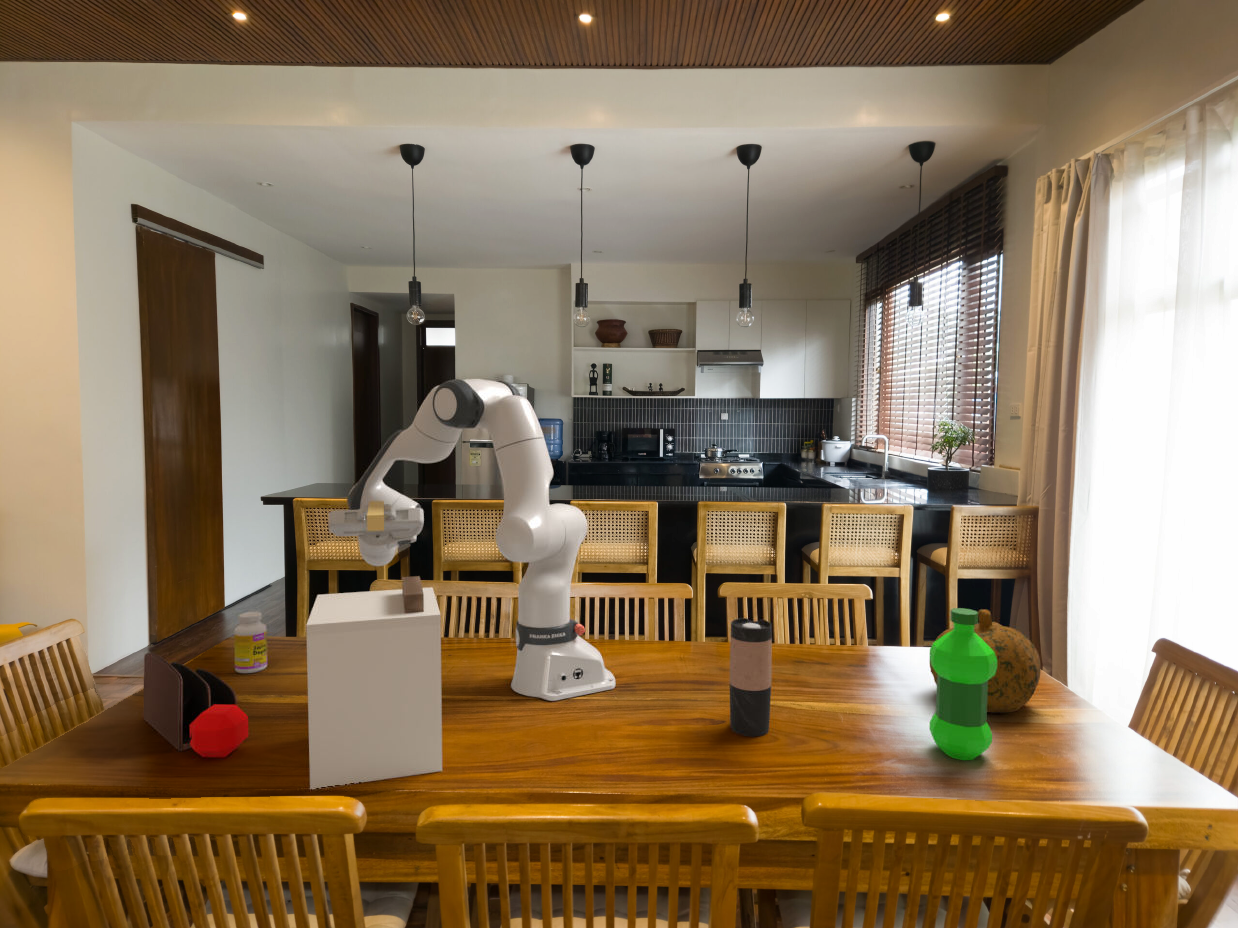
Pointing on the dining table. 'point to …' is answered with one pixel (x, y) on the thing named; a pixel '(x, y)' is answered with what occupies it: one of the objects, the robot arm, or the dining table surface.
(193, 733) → the ball
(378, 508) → the ochre bar
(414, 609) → the walnut bar
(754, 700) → the travel mug
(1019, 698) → the decorative pumpkin
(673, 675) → the dining table surface
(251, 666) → the supplement bottle
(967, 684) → the plastic bottle
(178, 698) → the letter holder
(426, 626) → the off-white stand
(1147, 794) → the dining table surface
